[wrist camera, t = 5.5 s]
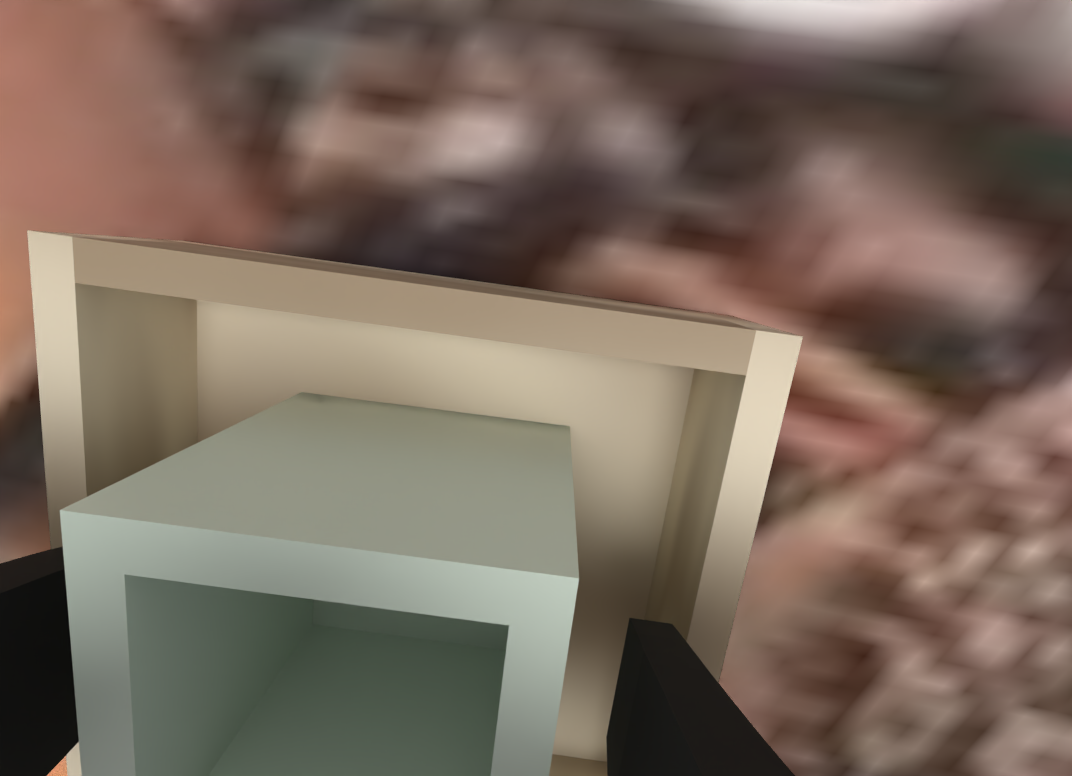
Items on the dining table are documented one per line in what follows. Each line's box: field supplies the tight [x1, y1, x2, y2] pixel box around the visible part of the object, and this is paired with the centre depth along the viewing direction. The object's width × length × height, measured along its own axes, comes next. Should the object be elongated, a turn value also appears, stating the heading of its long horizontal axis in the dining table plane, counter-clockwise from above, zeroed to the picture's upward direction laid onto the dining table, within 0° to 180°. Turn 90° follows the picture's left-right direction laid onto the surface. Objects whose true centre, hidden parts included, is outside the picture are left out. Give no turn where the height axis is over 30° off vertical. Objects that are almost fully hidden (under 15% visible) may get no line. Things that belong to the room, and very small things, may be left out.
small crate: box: [60, 392, 579, 776], centre depth 8 cm, size 5×5×5 cm
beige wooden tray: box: [27, 230, 803, 776], centre depth 10 cm, size 10×10×3 cm
